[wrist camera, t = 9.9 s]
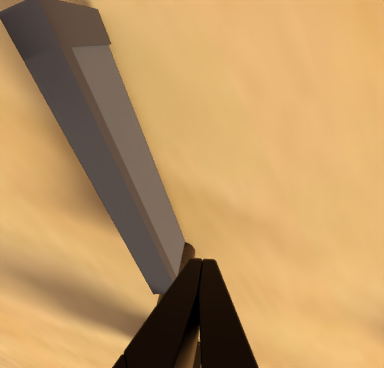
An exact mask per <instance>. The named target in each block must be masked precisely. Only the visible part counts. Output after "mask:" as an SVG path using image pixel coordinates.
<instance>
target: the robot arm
mask: <svg viewBox="0 0 384 368" xmlns="http://www.w3.org/2000/svg"><path fill="white" fill-rule="evenodd" d="M199 329H200V343H199V342H198V336H199ZM112 368H259V367H258V365H257V362H256V360H255V357H254V355H253V352H252V350H251V347H250V345H249V342H248V340H247V337H246V335H245V332H244V330H243V327H242V325H241V322H240V320H239V317H238V315H237V312H236V310H235V307H234V305H233V302H232V300H231V297H230V295H229V292H228V290H227V287H226V285H225V282H224V280H223V277H222V275H221V272H220V270H219V267H218V265H217V262H216V260H214V259H203V260H202V259H201V258H190V259H189V260H188V262H187V263H186V265H185V266H184V267H183V269H182V270H181V272H180V273H179V274H178V276H177V277H176V279H175V280H174V281H173V283H172V284H171V286H170V287H169V288H168V290H167V291H166V293H165V294H164V296H163V297H162V298H161V300H160V301H159V303H158V304H157V305H156V307H155V308H154V310H153V311H152V312H151V314H150V315H149V317H148V318H147V320H146V321H145V322H144V324H143V325H142V327H141V328H140V329H139V331H138V332H137V334H136V335H135V336H134V338H133V339H132V341H131V342H130V343H129V345H128V346H127V348H126V349H125V351H124V355H123V354H122V355H121V356H120V357H119V359H118V360H117V362H116V363H115V364H114V366H113V367H112Z"/></svg>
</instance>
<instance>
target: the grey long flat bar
mask: <svg viewBox="0 0 384 368" xmlns="http://www.w3.org/2000/svg"><path fill="white" fill-rule="evenodd" d="M0 19H1V21H2V23H3V24H4V26H5V28H6V30H7V32H8V33H9V35H10V37H11V39H12V41H13V42H14V44H15V46H16V48H17V50H18V51H19V53H20V55H21V57H22V59H23V60H24V62H25V64H26V66H27V68H28V69H29V71H30V73H31V75H32V77H33V78H34V80H35V82H36V84H37V86H38V87H39V89H40V91H41V93H42V95H43V96H44V98H45V100H46V102H47V104H48V105H49V107H50V109H51V111H52V113H53V114H54V116H55V118H56V120H57V122H58V123H59V125H60V127H61V129H62V131H63V132H64V134H65V136H66V138H67V140H68V141H69V143H70V145H71V147H72V149H73V150H74V152H75V154H76V156H77V158H78V159H79V161H80V163H81V165H82V167H83V168H84V170H85V172H86V174H87V176H88V177H89V179H90V181H91V183H92V185H93V186H94V188H95V190H96V192H97V194H98V195H99V197H100V199H101V201H102V203H103V204H104V206H105V208H106V210H107V212H108V213H109V215H110V217H111V219H112V221H113V222H114V224H115V226H116V228H117V230H118V231H119V233H120V235H121V237H122V239H123V240H124V242H125V244H126V246H127V248H128V249H129V251H130V253H131V255H132V257H133V258H134V260H135V262H136V264H137V266H138V267H139V269H140V271H141V273H142V275H143V276H144V278H145V280H146V282H147V284H148V285H149V287H150V289H151V291H152V293H153V294H165V293H166V291H167V290H168V288H169V287H170V286H171V284H172V283H173V281H174V280H175V279H176V277H177V276H178V272H179V267H180V262H181V258H182V253H183V248H184V243H185V239H184V237H183V234H182V232H181V229H180V226H179V224H178V221H177V219H176V216H175V214H174V211H173V209H172V206H171V204H170V201H169V198H168V196H167V193H166V191H165V188H164V186H163V183H162V181H161V178H160V175H159V173H158V170H157V168H156V165H155V163H154V160H153V158H152V155H151V152H150V150H149V147H148V145H147V142H146V140H145V137H144V135H143V132H142V129H141V127H140V124H139V122H138V119H137V117H136V114H135V112H134V109H133V107H132V104H131V101H130V99H129V96H128V94H127V91H126V89H125V86H124V84H123V81H122V78H121V76H120V73H119V71H118V68H117V66H116V63H115V61H114V58H113V55H112V53H111V50H110V48H109V45H110V44H111V42H110V40H109V37H108V34H107V32H106V29H105V27H104V24H103V21H102V19H101V16H100V14H99V11H98V9H95V8H90V7H86V6H81V5H77V4H72V3H68V2H63V1H59V0H25V1H23V2H20V3H18V4H16V5H14V6H12V7H10V8H7V9H5V10H3V11H1V12H0Z"/></svg>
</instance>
